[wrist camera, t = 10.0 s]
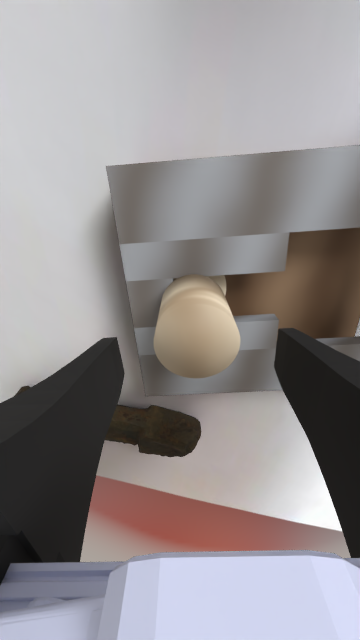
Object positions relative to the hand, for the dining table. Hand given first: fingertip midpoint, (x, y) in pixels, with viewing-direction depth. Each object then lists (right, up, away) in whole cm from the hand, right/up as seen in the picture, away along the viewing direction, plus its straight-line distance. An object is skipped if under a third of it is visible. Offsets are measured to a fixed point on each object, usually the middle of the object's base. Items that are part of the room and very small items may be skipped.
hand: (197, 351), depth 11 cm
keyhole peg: (0, +4, +8) cm, 9 cm away
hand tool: (-8, -7, +16) cm, 19 cm away
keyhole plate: (+5, +5, +9) cm, 11 cm away
